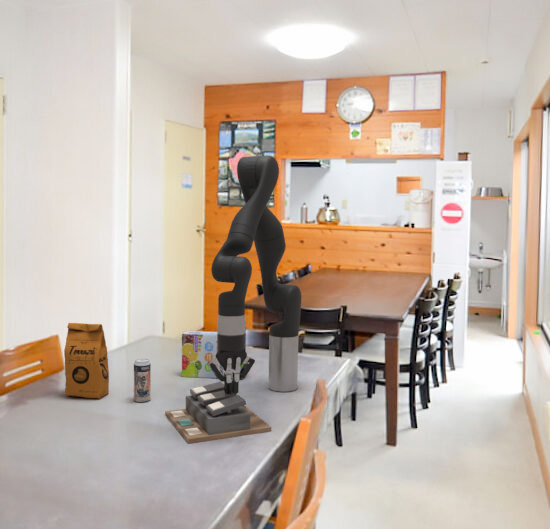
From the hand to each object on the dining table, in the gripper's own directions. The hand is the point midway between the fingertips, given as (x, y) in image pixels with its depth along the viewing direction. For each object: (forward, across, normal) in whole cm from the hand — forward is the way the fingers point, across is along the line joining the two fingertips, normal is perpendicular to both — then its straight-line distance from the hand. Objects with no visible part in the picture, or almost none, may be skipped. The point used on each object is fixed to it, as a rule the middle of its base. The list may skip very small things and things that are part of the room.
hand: (231, 395), depth 162 cm
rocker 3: (+1, +4, +7) cm, 8 cm away
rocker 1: (+1, +4, -7) cm, 8 cm away
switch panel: (+7, +4, 0) cm, 8 cm away
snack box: (+8, -10, -43) cm, 45 cm away
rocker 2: (+2, +4, 0) cm, 4 cm away
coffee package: (+7, +32, -37) cm, 49 cm away
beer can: (+7, +18, -26) cm, 32 cm away
